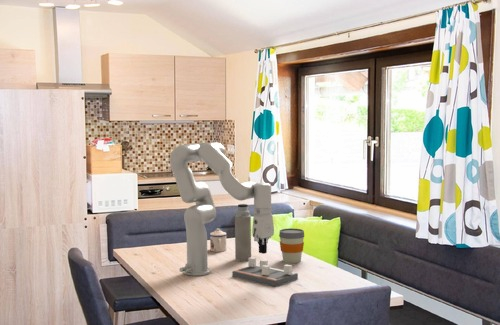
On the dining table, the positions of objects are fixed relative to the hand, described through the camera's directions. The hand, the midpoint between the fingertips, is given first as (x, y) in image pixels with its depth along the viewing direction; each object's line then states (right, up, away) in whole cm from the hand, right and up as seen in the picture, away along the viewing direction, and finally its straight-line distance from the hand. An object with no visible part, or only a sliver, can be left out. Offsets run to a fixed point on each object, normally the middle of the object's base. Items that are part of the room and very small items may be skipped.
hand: (262, 252), depth 278 cm
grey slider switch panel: (+1, -12, +7) cm, 14 cm away
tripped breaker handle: (+1, -10, +2) cm, 10 cm away
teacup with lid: (-22, -8, +61) cm, 65 cm away
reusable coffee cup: (+15, -10, +39) cm, 43 cm away
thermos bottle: (-9, -10, +41) cm, 43 cm away
